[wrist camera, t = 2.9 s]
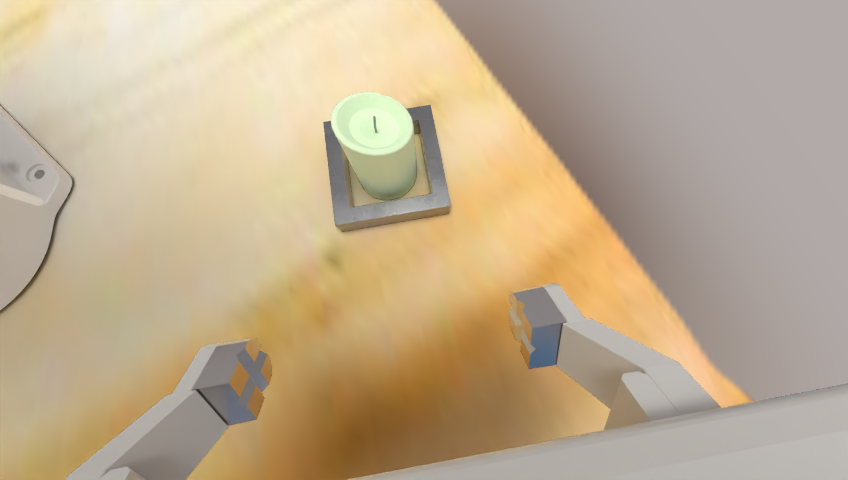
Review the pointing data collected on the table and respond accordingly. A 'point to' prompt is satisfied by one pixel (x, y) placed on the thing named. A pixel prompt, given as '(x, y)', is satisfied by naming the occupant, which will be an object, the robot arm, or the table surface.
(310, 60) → the table surface
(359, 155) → the candle
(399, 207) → the holder collar
